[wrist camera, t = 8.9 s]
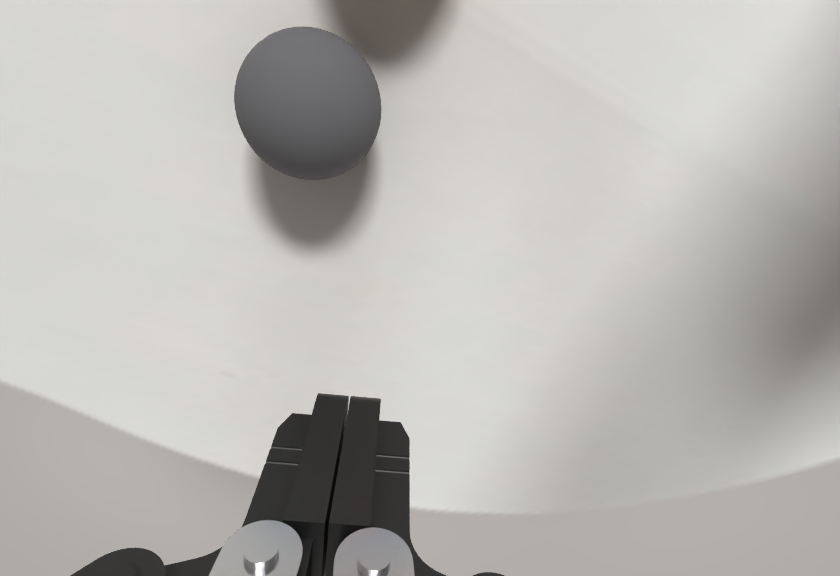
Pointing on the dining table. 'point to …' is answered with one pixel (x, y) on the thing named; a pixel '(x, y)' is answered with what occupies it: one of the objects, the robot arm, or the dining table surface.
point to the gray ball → (307, 103)
